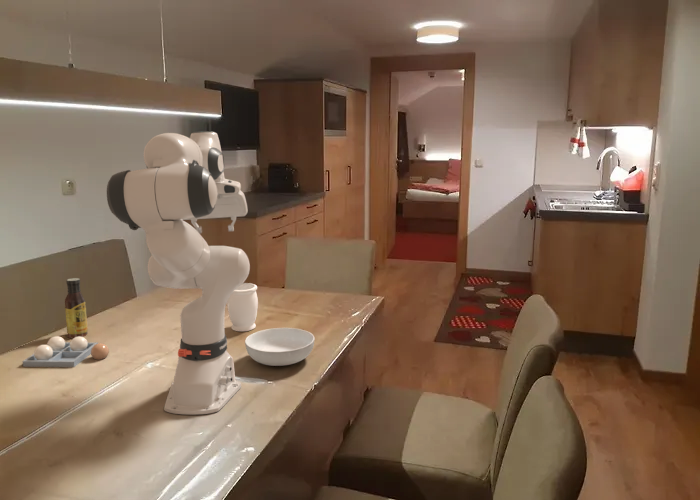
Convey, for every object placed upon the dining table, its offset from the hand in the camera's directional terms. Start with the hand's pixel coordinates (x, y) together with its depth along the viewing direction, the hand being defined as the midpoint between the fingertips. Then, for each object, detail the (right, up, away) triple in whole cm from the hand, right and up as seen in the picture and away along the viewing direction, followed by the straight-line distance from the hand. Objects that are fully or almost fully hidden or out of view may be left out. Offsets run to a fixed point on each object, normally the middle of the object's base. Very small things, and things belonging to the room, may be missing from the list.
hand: (215, 231), depth 171 cm
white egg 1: (-51, -39, -1) cm, 64 cm away
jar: (+3, -33, +29) cm, 44 cm away
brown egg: (-35, -39, +2) cm, 52 cm away
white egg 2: (-51, -37, +6) cm, 63 cm away
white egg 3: (-44, -37, +6) cm, 58 cm away
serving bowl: (+19, -39, +1) cm, 44 cm away
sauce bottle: (-51, -35, +21) cm, 65 cm away
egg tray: (-47, -39, +3) cm, 61 cm away
